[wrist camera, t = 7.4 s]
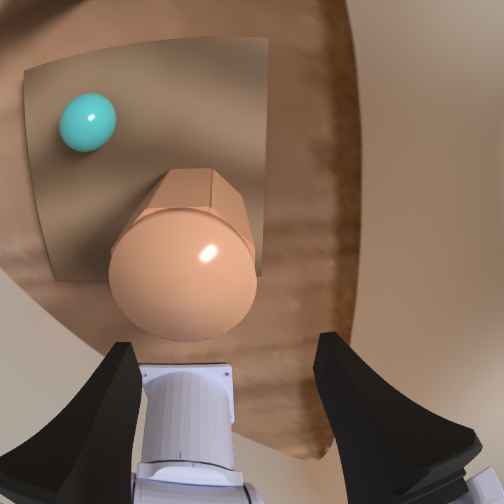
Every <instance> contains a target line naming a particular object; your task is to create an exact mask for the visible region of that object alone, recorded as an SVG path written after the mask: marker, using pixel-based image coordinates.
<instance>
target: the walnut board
mask: <svg viewBox="0 0 504 504" xmlns="http://www.w3.org/2000/svg"><path fill="white" fill-rule="evenodd" d="M267 83H268V38H257V37H200V38H182V39H170V40H160V41H151V42H143V43H136V44H129V45H123V46H117V47H111V48H106V49H101V50H96V51H92V52H87V53H83V54H79V55H75V56H71V57H67V58H63V59H60V60H56V61H53V62H49V63H46V64H43V65H40V66H36V67H33V68H30V69H28V70H25V71H24V108H25V125H26V137H27V146H28V155H29V163H30V170H31V176H32V183H33V188H34V194H35V199H36V204H37V209H38V214H39V218H40V223H41V227H42V231H43V235H44V239H45V243H46V247H47V251H48V254H49V258H50V261H51V265H52V268H53V271H54V275H55V278H56V281H109V266H110V261H111V258H112V256H111V249H112V247H113V246H114V244H115V242H116V241H117V239H118V237H119V236H120V234H121V233H122V231H123V229H124V228H125V226H126V225H127V223H128V222H129V220H130V218H131V217H132V215H133V214H134V212H135V211H136V209H137V208H138V206H139V205H140V203H141V202H142V200H143V199H144V198H145V196H146V195H147V194H148V193H149V192H150V191H151V190H152V189H153V187H154V186H155V185H156V184H157V183H158V182H159V181H160V180H161V179H162V177H163V176H164V175H165V174H166V173H167V172H168V171H169V170H171V169H191V168H212V169H214V170H215V171H216V172H217V173H218V174H219V175H220V176H222V177H223V178H224V179H225V180H226V181H227V182H228V183H229V184H230V185H231V186H232V187H233V188H234V189H235V190H236V191H237V192H238V193H239V194H240V195H241V196H242V198H243V202H244V206H245V210H246V214H247V218H248V222H249V226H250V230H251V234H252V237H253V241H254V245H255V272H256V277H257V276H261V273H262V247H263V219H264V190H265V158H266V123H267ZM86 93H96V94H100V95H102V96H104V97H106V98H107V99H108V100H109V101H110V102H111V103H112V105H113V107H114V109H115V112H116V126H115V130H114V132H113V134H112V136H111V137H110V139H109V140H108V141H107V142H106V143H105V144H104V145H103V146H101V147H100V148H98V149H96V150H93V151H89V152H80V151H76V150H73V149H72V148H70V147H69V146H67V145H66V144H65V142H64V141H63V139H62V137H61V135H60V131H59V121H60V117H61V114H62V111H63V110H64V108H65V107H66V105H67V104H68V103H69V102H70V101H71V100H72V99H74V98H75V97H77V96H79V95H82V94H86Z"/></svg>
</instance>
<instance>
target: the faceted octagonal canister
mask: <svg viewBox="0 0 504 504" xmlns="http://www.w3.org/2000/svg"><path fill="white" fill-rule="evenodd" d="M111 256H112V258H111V261H110V266H109V283H110V288H111V292H112V295H113V297H114V299H115V301H116V303H117V305H118V306H119V308H120V310H121V311H122V312H123V313H124V314H125V316H126V317H127V318H128V319H129V320H130V321H131V322H133V323H134V324H135V325H137V326H138V327H139V328H141V329H143V330H144V331H146V332H148V333H150V334H152V335H154V336H157V337H160V338H163V339H167V340H172V341H179V342H195V341H202V340H207V339H210V338H214V337H216V336H219V335H221V334H223V333H225V332H227V331H229V330H230V329H231V328H233V327H234V326H236V325H237V324H238V323H239V322H240V321H241V320H242V319H243V318H244V317H245V315H246V314H247V312H248V311H249V309H250V307H251V305H252V303H253V301H254V297H255V294H256V287H257V280H256V272H255V245H254V241H253V237H252V234H251V230H250V226H249V222H248V218H247V214H246V210H245V206H244V202H243V198H242V196H241V195H240V194H239V193H238V192H237V191H236V190H235V189H234V188H233V187H232V186H231V185H230V184H229V183H228V182H227V181H226V180H225V179H224V178H223V177H222V176H220V175H219V174H218V173H217V172H216V171H215V170H214V169H212V168H191V169H171V170H169V171H168V172H167V173H166V174H165V175H164V176H163V177H162V179H161V180H160V181H159V182H158V183H157V184H156V185H155V186H154V187H153V189H152V190H151V191H150V192H149V193H148V194H147V195H146V196H145V198H144V199H143V200H142V202H141V203H140V205H139V206H138V208H137V209H136V211H135V212H134V214H133V215H132V217H131V218H130V220H129V222H128V223H127V225H126V226H125V228H124V229H123V231H122V233H121V234H120V236H119V237H118V239H117V241H116V242H115V244H114V246H113V247H112V249H111Z"/></svg>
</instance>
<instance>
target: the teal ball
mask: <svg viewBox="0 0 504 504" xmlns="http://www.w3.org/2000/svg"><path fill="white" fill-rule="evenodd" d="M115 126H116V112H115V109H114V107H113V105H112V103H111V102H110V101H109V100H108V99H107V98H106V97H104V96H102V95H100V94H96V93H86V94H82V95H79V96H77V97H75V98H74V99H72V100H71V101H70V102H69V103H68V104H67V105H66V107H65V108H64V110H63V111H62V114H61V117H60V121H59V131H60V135H61V137H62V139H63V141H64V142H65V144H66V145H67V146H69V147H70V148H72V149H73V150H76V151H80V152H89V151H93V150H96V149H98V148H100V147H101V146H103V145H104V144H105V143H106V142H107V141H108V140H109V139H110V137H111V136H112V134H113V132H114V130H115Z"/></svg>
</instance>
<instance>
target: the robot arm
mask: <svg viewBox="0 0 504 504" xmlns="http://www.w3.org/2000/svg"><path fill="white" fill-rule="evenodd" d="M313 371H314V375H315V380H316V384H317V389H318V392H319V395H320V398H321V400H322V403H323V406H324V409H325V411H326V414H327V417H328V419H329V422H330V425H331V428H332V430H333V433H334V436H335V439H336V443H337V446H338V451H339V455H340V460H341V464H342V469H343V474H344V479H345V486H346V492H347V498H348V504H504V491H503V489H502V487H501V485H500V482H499V480H498V478H497V476H496V474H495V472H494V470H493V468H492V467H491V466H490V467H488V468H486V469H485V470H483V471H481V472H480V473H478V474H476V475H475V476H473V477H471V478H470V479H468V480H467V481H465V480H464V478H463V476H465V475H466V472H465V470H464V467H465V466H466V465H467V464H468V463H469V462H470V461H471V460H472V459H474V458H475V457H476V456H477V455H478V454H479V453H480V452H481V450H482V447H483V446H482V444H481V442H480V440H479V439H478V437H477V435H476V433H475V432H474V430H473V429H471V428H468V427H465V426H462V425H460V424H457V423H454V422H452V421H449V420H447V419H445V418H443V417H440V416H438V415H436V414H434V413H432V412H430V411H429V410H427V409H425V408H423V407H422V406H420V405H418V404H416V403H415V402H413V401H412V400H410V399H409V398H407V397H406V396H405V395H403V394H402V393H400V392H399V391H398V390H396V389H395V388H394V387H392V386H391V385H389V384H388V383H387V382H386V381H385V380H384V379H383V378H381V377H380V376H379V375H378V374H377V373H376V372H375V371H374V370H372V368H370V367H369V366H368V365H367V364H366V363H365V362H364V361H363V360H362V359H361V358H360V357H359V356H358V355H357V354H356V353H355V352H354V351H353V350H352V349H351V348H350V347H349V346H348V344H347V343H346V342H345V341H344V340H343V339H342V338H341V337H340V336H339V335H338V334H337V333H336V332H327V333H320V337H319V342H318V347H317V351H316V356H315V361H314V366H313ZM142 385H143V387H144V390H145V393H146V395H147V398H148V405H147V412H146V421H145V429H144V438H143V447H142V457H141V463H138V468H137V477H136V473H132V472H131V458H132V448H133V441H134V436H135V430H136V424H137V418H138V414H139V408H140V403H141V394H142ZM232 423H234V405H233V383H232V367H231V365H229V364H205V365H143V364H142V365H138V362H137V359H136V356H135V353H134V350H133V347H132V344H131V342H116V343H115V344H114V345H113V347H112V348H111V350H110V351H109V352H108V354H107V355H106V357H105V358H104V359H103V361H102V362H101V363H100V365H99V366H98V368H97V369H96V370H95V372H94V373H93V374H92V376H91V377H90V378H89V380H88V381H87V382H86V384H85V385H84V386H83V387H82V388H81V390H80V391H79V392H78V393H77V395H76V396H75V397H74V398H73V399H72V400H71V401H70V402H69V404H68V405H67V406H66V407H65V408H64V409H63V410H62V411H61V412H60V413H59V414H58V415H57V416H56V417H55V418H54V419H53V420H52V421H51V422H49V423H48V424H47V425H46V426H45V427H44V428H42V429H41V430H40V431H39V432H38V433H36V434H35V435H34V436H33V437H31V438H30V439H28V440H27V441H25V442H24V443H23V444H21V445H20V446H18V447H16V448H15V449H13V450H11V451H9V452H8V453H6V454H4V455H2V456H1V457H0V494H2V495H3V496H5V497H6V498H8V499H9V500H11V501H12V502H14V503H15V504H264V503H263V499H262V497H261V495H260V493H259V492H258V491H257V490H256V489H255V488H254V486H253V485H251V484H250V483H243V478H242V472H236V471H235V465H234V454H233V443H232V431H231V424H232ZM0 504H3V503H0Z"/></svg>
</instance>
